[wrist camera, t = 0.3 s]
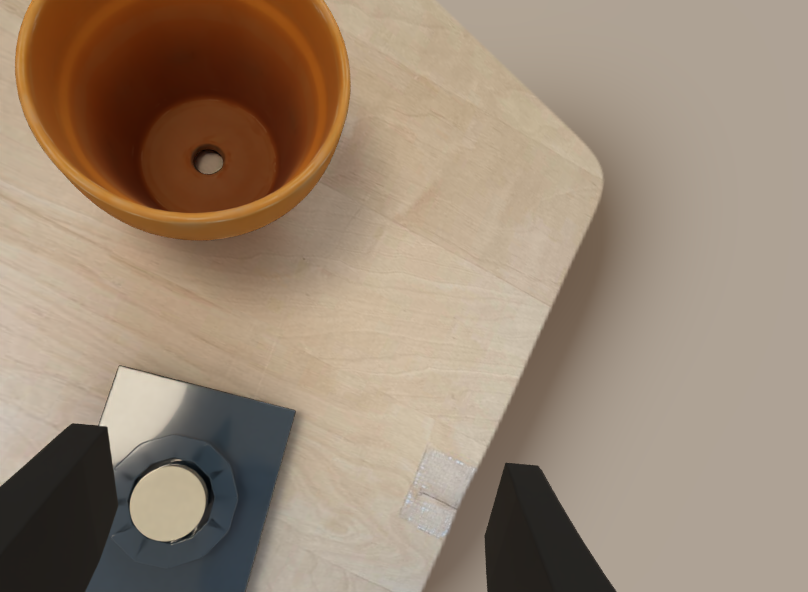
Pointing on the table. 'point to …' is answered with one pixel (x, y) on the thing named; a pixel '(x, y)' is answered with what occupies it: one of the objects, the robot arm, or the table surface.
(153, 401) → the push button base
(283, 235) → the table surface
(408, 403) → the table surface
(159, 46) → the flower pot
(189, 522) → the cream cylinder puck
